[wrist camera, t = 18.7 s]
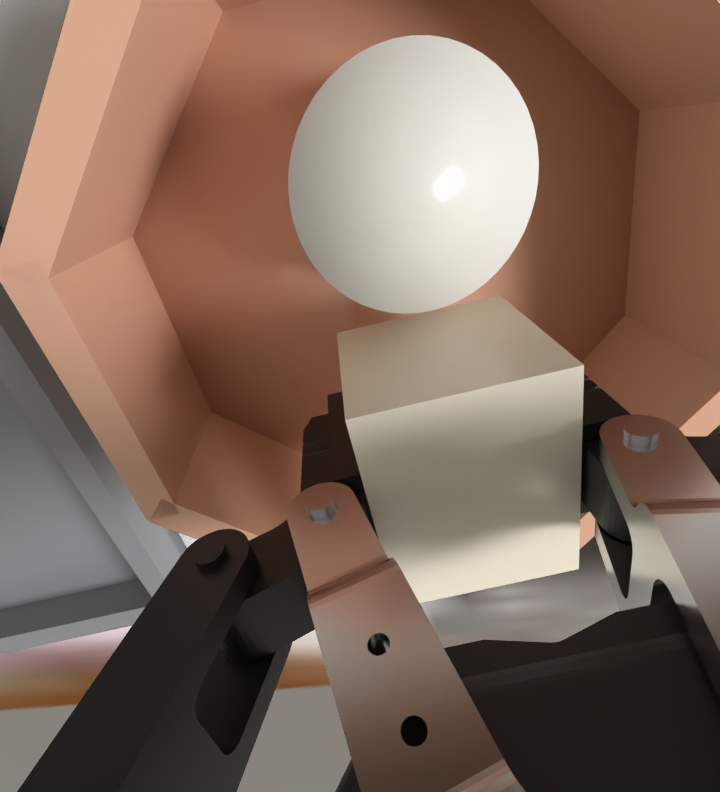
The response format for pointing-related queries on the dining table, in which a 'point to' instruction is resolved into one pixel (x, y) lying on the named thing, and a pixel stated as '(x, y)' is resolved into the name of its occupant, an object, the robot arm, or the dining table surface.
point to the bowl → (284, 254)
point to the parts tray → (64, 511)
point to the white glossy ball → (413, 174)
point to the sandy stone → (467, 445)
